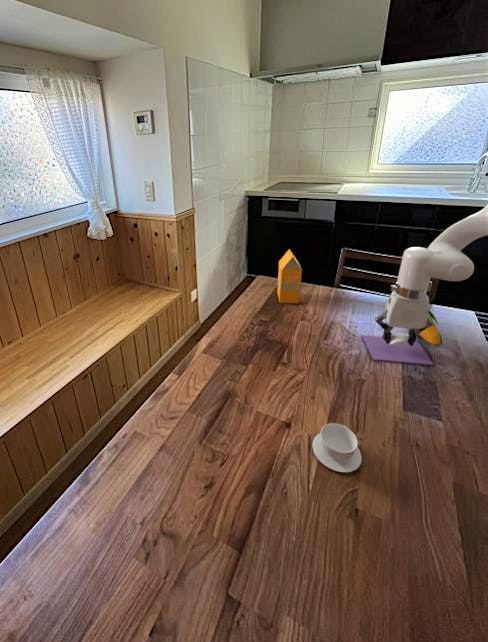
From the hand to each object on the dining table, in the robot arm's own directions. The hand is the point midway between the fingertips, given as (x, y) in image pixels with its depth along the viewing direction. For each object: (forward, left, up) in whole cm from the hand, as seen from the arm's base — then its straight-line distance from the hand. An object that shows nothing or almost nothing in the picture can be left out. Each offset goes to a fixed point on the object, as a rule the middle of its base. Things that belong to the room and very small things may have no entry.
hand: (398, 341), depth 103 cm
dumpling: (0, 0, -1) cm, 1 cm away
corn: (-11, -10, -3) cm, 15 cm away
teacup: (+24, +40, -3) cm, 47 cm away
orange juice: (+31, -30, -3) cm, 43 cm away
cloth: (0, 0, -3) cm, 3 cm away
